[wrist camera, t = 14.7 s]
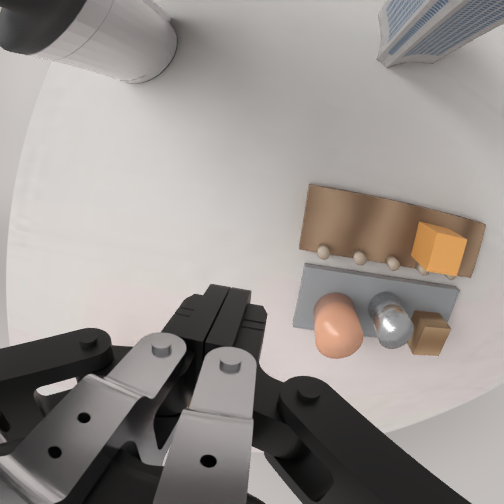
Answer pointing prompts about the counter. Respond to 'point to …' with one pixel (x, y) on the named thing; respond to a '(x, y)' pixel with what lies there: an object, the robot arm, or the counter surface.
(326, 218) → the rail
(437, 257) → the orange block
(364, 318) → the slate tray
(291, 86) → the counter surface
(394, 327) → the metal canister
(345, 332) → the salmon domed cylinder
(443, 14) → the building model
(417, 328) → the oak block
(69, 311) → the counter surface
